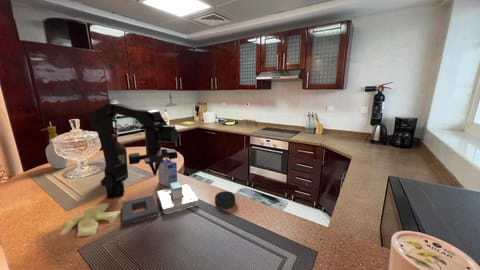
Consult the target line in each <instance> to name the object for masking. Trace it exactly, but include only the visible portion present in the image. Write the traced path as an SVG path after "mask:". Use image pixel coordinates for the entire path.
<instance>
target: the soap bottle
mask: <svg viewBox="0 0 480 270" xmlns="http://www.w3.org/2000/svg"><path fill="white" fill-rule="evenodd" d="M56 127H57V126H47V128H43V129H41V130H40V131H41V132H42V131H44V130H46V129H47V131H48V133H49V134H48V137H49V139H48V141H49V144H48V145H47V146H46V148H45V155H46V159H47V160H46V161H47V162H48V164H49V165H50V167H51V168H53V169H56V170H57V169H58V170H59V169H60V170H61V169H64V168H67V164H68V159H64V158H61V157H59V156H58V155H57V154H56V153H55V151H54V147H53V143H52V142H51V139H52V138H54V137H57V138H58V134H57V133H56V129H57V128H56Z"/></svg>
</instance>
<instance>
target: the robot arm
mask: <svg viewBox="0 0 480 270" xmlns="http://www.w3.org/2000/svg"><path fill="white" fill-rule="evenodd" d="M117 115H120V116H124V117H128V118H131V119H135V120H136V121H138V122H139V123H141V124H142V125H141V126H140V127H139V130H143V131H144V138H145V139H144V140H145V153H146V154H140V152H135V153H129V154H128V164H129V165H136V164H137V165H138V164H139V163H140V162H141V161H142V160H143V161H144V164H145V165H149V167H150V169H151V171H152V173H153V176H156V175H157V174H158V167H159V165H160V163H161V162H164V160H165V159H166V158H167V157H169V158H170V159H171V160H175V159H178V152H177V151H176V150H175V149H174V148H171V149H167V148H161V142H164V143H177V141H178V138H179V132H178V130H177V129H176V126H175V125H168V124H167V122H166V121H165V119H164V118H163V116H162V113H161V112H160V111H159V110H158V109H148V108H147V109H144V108H137V107H133V106H130V105H126V104H121V103H120V102H116V101H114V102H107V103H105V104H104V105H103V106H100V107H99V108H97V109H95V110H94V111H91V112H90V113H89V114H88V116H87V119H88V122H89V125H90V126H91V128H92V129H93V130H95V132H97V134H98V139H99V143H100V146H101V149H102V152H103V158H104V157H105V158H104V161H105V160H106V163H105V167H104V171H103V172H104V177H103V178H102V179H101V180H100V185H101V187H105V191H106V199H107V200H111V199H114V198H119V197H123V196H124V193H125V183H124V182H123V181H124V180H126V179H125V176H126V174H127V171H128V170H127V168H128V167H127V168H126V164H125V163H122V162H121V161H119V158H118V154H117V151H116V147H115V143H114V140H113V136H112V134H113V133H112V128H113V125H114V121H113V119H114V117H116V116H117ZM169 158H168V159H169ZM170 159H169V160H170ZM128 172H129V171H128Z"/></svg>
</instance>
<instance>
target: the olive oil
mask: <svg viewBox="0 0 480 270" xmlns="http://www.w3.org/2000/svg"><path fill="white" fill-rule="evenodd" d="M112 136H113V140H114V143H115V147H116V151H117V154H118V158H119V161H121V162H122V163H125V164H126V168H127V170H128V168H129V167H128V152H127V148H126V146H124V145H123V144H122V143H121V142H119V141H118V134H117V133H112ZM103 158H104V162H105V164H106V160H105V157H104V156H103ZM128 178H129V171H127V174H126V176H125V179H124V180H126V179H128Z"/></svg>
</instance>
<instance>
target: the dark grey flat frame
mask: <svg viewBox="0 0 480 270" xmlns="http://www.w3.org/2000/svg"><path fill="white" fill-rule="evenodd" d="M144 206H145V207H146V209H143V210H139V211H135V212H134V211H133V209H135V208H136V209H137V208H139V207H144ZM121 207H122V211H121V213H122V226H123V225H124V226H126V224H127V225H130V224H129V223H131V222H134V221H137V220H141V219H144V218H148V217H151V216H154V215H157V214H158V215H159V210H158V208H157V205H156V200H155V197H154V195H148V196H145V197H139V198H134V199H130V200H126V201H122V206H121ZM148 219H149V218H148ZM141 221H142V220H141ZM134 223H135V222H134ZM131 224H132V223H131Z"/></svg>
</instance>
